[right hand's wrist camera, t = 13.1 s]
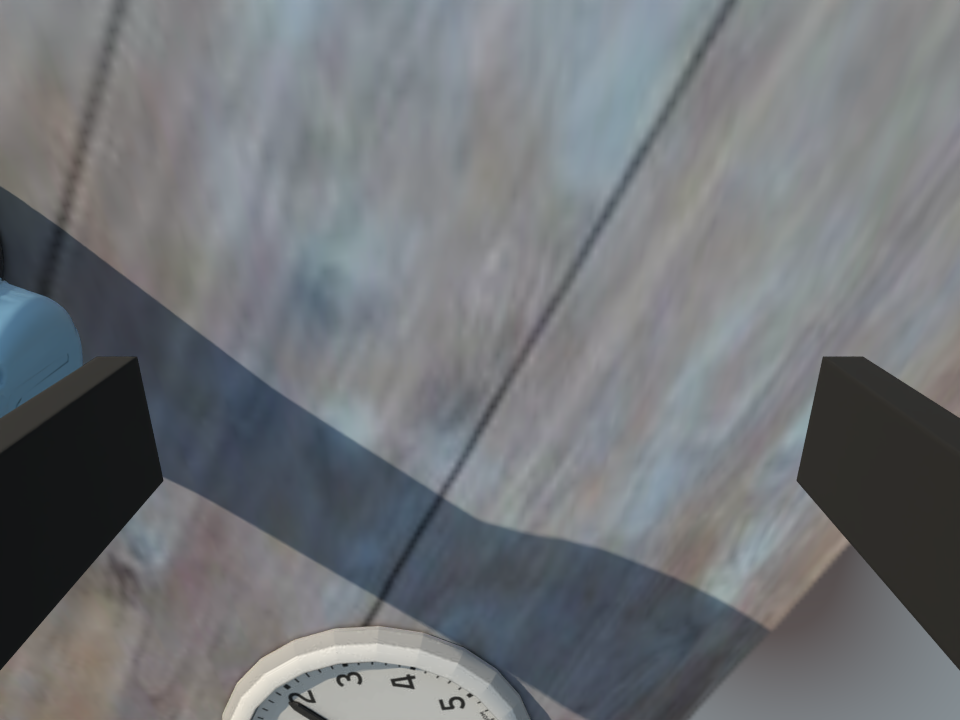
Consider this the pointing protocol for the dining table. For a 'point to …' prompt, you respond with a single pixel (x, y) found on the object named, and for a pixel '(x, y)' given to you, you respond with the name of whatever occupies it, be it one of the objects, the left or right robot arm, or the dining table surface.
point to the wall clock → (373, 680)
